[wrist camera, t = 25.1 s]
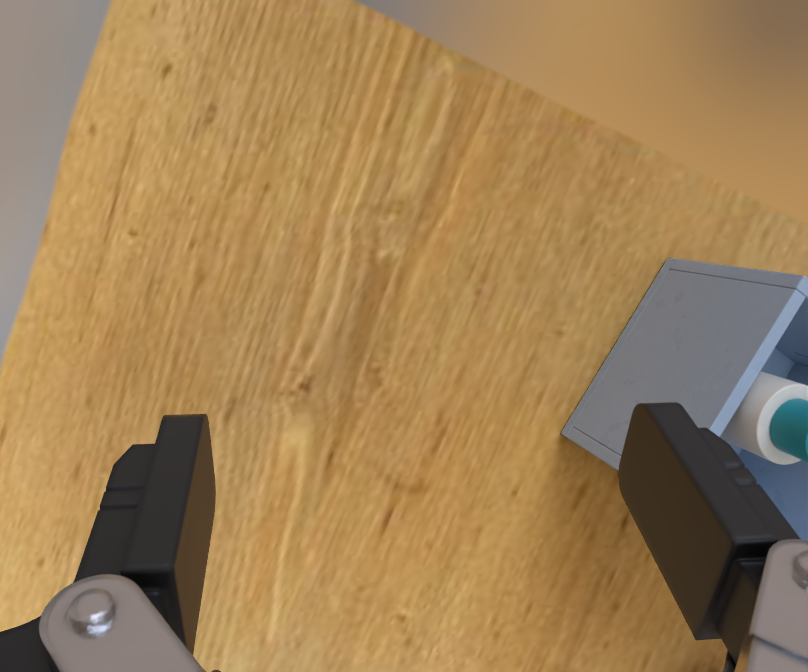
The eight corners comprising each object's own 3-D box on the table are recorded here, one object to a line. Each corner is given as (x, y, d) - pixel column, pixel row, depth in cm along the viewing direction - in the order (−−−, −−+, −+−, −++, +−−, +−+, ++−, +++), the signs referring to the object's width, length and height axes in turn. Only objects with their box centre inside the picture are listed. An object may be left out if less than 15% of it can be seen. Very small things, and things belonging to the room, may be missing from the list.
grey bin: (559, 433, 41) (665, 502, 32) (667, 257, 41) (804, 274, 32) (700, 517, 45) (830, 600, 36) (799, 355, 45) (957, 397, 35)
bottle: (618, 357, 40) (784, 420, 29) (673, 329, 41) (856, 381, 30) (636, 414, 41) (804, 497, 30) (689, 386, 42) (874, 457, 31)
